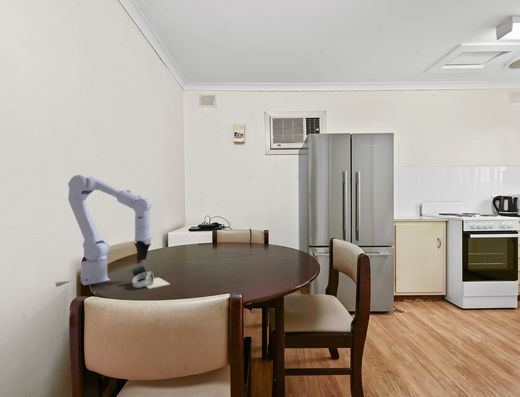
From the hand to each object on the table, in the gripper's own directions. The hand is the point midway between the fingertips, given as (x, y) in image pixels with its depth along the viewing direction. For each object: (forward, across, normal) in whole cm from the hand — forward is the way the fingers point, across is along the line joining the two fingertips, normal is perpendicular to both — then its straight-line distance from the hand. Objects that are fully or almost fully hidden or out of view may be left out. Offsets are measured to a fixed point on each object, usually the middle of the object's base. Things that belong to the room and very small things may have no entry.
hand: (142, 259), depth 117 cm
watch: (+5, -2, +2) cm, 6 cm away
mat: (+8, -9, -2) cm, 12 cm away
